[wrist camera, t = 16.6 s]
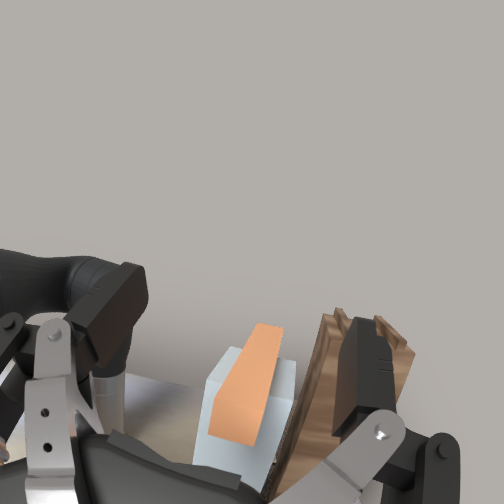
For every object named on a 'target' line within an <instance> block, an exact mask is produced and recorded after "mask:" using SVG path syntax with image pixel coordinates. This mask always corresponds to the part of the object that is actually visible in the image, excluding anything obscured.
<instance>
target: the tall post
mask: <svg viewBox="0 0 504 504" xmlns="http://www.w3.org/2000/svg"><path fill="white" fill-rule="evenodd" d="M352 320H353V319H348V318H347V316H346V314H345V313H344V311H343V309H340V308H335V311H334V315H328V314H323V317H322V321H321V324H320V328H319V332H318V336H317V339H316V343H315V347H314V350H313V354H312V357H311V360H310V364H309V367H308V371H307V374H306V377H305V381H304V384H303V387H302V390H301V393H300V397H299V400H298V403H297V406H296V409H295V412H294V415H293V418H292V421H291V424H290V427H289V429H288V432H287V435H286V438H285V441H284V444H283V446H282V449H281V452H280V454H279V457H278V460H277V462H276V465H275V468H274V470H273V473H272V477H271V482H270V488H269V493H268V498H267V501H268V503H270V502H272V501H273V500H274V499H276V498H277V497H278V496H280V495H281V494H283V493H284V492H285V491H286V490H288V489H289V488H290V487H292V486H293V485H294V484H295V483H297V482H298V481H299V480H300V479H302V478H303V477H304V476H305V475H307V474H308V473H309V472H310V471H311V470H312V469H314V468H315V467H316V466H317V465H318V464H319V463H321V462H322V461H323V460H324V459H325V458H326V457H328V456H329V455H330V454H331V453H332V452H333V451H334V450H335V449H336V448H337V447H338V446H339V445H340V437H333V436H331V434H332V426H333V416H334V406H335V395H336V383H337V368H338V356H339V351H340V348H341V345H342V342H343V340H344V338H345V336H346V334H347V332H348V329H349V327H350V325H351V323H352ZM373 320H375V322H376V329H377V335H378V336H384V337H386V339H387V341H388V343H389V345H390V347H391V348H392V358H393V362H392V363H393V368H394V371H393V373H394V381H395V396H396V403H397V401H398V398H399V396H400V394H401V391H402V389H403V386H404V384H405V381H406V378H407V376H408V373H409V370H410V368H411V365H412V362H413V359H414V356H415V353H414V352H413V351H412V350H411V349H410V348H409V347H408V346H407V345H406V344H407V341H406V340H405V339H404V338H403V337H402V336H401V335H400V334H398V332H397V331H396V330H394V328H392V326H390V325H389V324H388V323H387V322H386V321H385V320H384V319H383V318H382V317H381V316H376V315H375V316H374V319H373Z"/></svg>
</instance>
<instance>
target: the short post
mask: <svg viewBox="0 0 504 504" xmlns="http://www.w3.org/2000/svg"><path fill="white" fill-rule="evenodd" d="M242 350H243V349H240V348H236V347H232V346H230V347H229V349H228V350H227V352H226V353H225V355H224V356H223V357H222V359H221V360H220V361H219V363H218V364H217V366H216V367H215V369H214V370H213V371H212V372H211V374H210V375H209V377H208V378H207V380H206V386H205V392H204V398H203V403H202V409H201V415H200V421H199V427H198V433H197V439H196V445H195V451H194V457H193V464H192V465H202V466H209V467H213V468H216V469H220V470H223V471H227V472H231V473H235V474H239V475H242V477H241V480H240V481H242V482H244V483H246V484H248V485H249V486H251V487H252V488H254V489H255V490H257V491H258V492H259V493H261V490H262V488H263V485H264V483H265V480H266V478H267V475H268V472H269V470H270V467H271V464H272V462H273V459H274V456H275V454H276V451H277V448H278V445H279V442H280V440H281V437H282V434H283V431H284V428H285V425H286V422H287V419H288V416H289V413H290V410H291V407H292V404H293V400H294V387H295V372H296V361H291V360H286V359H282V358H278V357H277V361H276V365H275V369H274V374H273V378H272V382H271V386H270V390H269V394H268V398H267V402H266V406H265V410H264V414H263V417H262V421H261V424H260V428H259V431H258V434H257V438H256V441H255V444H254V447H252V446H248V445H244V444H240V443H236V442H232V441H229V440H225V439H222V438H218V437H215V436H211V435H208V429H209V423H210V418H211V413H212V408H213V402H214V397H215V396H216V394H217V392H218V391H219V389H220V387H221V386H222V384H223V382H224V381H225V379H226V377H227V376H228V374H229V372H230V370H231V369H232V367H233V365H234V364H235V362H236V360H237V358H238V357H239V355H240V353H241V351H242Z"/></svg>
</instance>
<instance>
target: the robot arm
mask: <svg viewBox="0 0 504 504" xmlns="http://www.w3.org/2000/svg"><path fill="white" fill-rule="evenodd" d="M147 304H148V289H147V284H146V276H145V270H144V267H143V266H140V265H136V264H132V263H129V262H124V263H122V264H121V265H118V264H115V263H112V262H108V261H105V260H102V259H99V258H96V257H92V256H71V257H54V258H42V257H35V256H31V255H27V254H23V253H19V252H15V251H10V250H4V249H0V374H1V373H2V371H3V370H4V368H5V367H6V366H7V364H8V363H9V361H10V360H11V359H13V360H14V362H15V363H16V364H15V365H14V367H13V368H12V370H11V371H10V373H9V374H8V375H7V377H6V378H5V380H4V381H3V383H2V384H1V386H0V504H353V503H354V502H355V501H356V500H357V499H358V498H359V497H360V495H361V494H362V490H363V488H364V487H365V486H366V485H367V483H368V482H369V481H370V480H371V479H373V480H376V481H379V482H381V483H383V490H382V498H381V504H459V501H460V448H459V445H458V442H457V441H456V440H455V438H454V437H453V436H451V435H450V434H447V433H437V434H435V435H433V436H432V437H430V438H428V437H425V436H423V435H420V434H418V433H415V432H413V431H411V430H409V429H407V428H406V427H405V425H404V422H403V420H402V419H401V418H400V417H399V416H398V415H397V412H396V396H395V381H394V373H393V371H394V368H393V363H392V362H393V358H392V348H391V347H390V345H389V343H388V341H387V339H386V337H384V336H378V335H377V329H376V322H375V320H371V319H366V318H361V317H354V319H353V320H352V323H351V325H350V327H349V329H348V332H347V334H346V336H345V338H344V340H343V342H342V345H341V348H340V351H339V356H338V368H337V383H336V395H335V406H334V416H333V426H332V434H331V436H333V437H340V445H339V446H338V447H337V448H336V449H335V450H334V451H333V452H332V453H331V454H330V455H329V456H328V457H326V458H325V459H324V460H323V461H322V462H321V463H319V464H318V465H317V466H316V467H315V468H314V469H312V470H311V471H310V472H309V473H308V474H307V475H305V476H304V477H303V478H302V479H300V480H299V481H298V482H297V483H295V484H294V485H293V486H292V487H290V488H289V489H288V490H286V491H285V492H284V493H283V494H281V495H280V496H278V497H277V498H276V499H274V500H273V501H272V502H270V503H268V501H267V500H266V499H265V498H264V497H263V496H262V495H261V494H260V493H259V492H258V491H257V490H255V489H254V488H252V487H251V486H249V485H248V484H246V483H244V482H242V481H240V480H241V477H242V475H239V474H235V473H231V472H227V471H223V470H220V469H216V468H213V467H209V466H202V465H190V464H181V463H173V462H170V461H168V460H166V459H165V458H163V457H162V456H160V455H159V454H157V453H156V452H155V451H153V450H152V449H150V448H149V447H148V446H146V445H145V444H144V443H142V442H141V441H138V440H136V439H134V438H131V437H129V436H127V435H125V434H124V394H125V368H126V359H127V355H128V353H129V349H130V345H131V339H132V330H133V326H134V325H135V323H136V322H137V321H138V319H139V318H140V316H141V315H142V313H143V312H144V311H145V309H146V307H147ZM46 312H47V313H48V312H63V313H67V315H66V316H65V317H64V318H63V319H59V318H56V319H51V320H48V321H46V322H45V323H43V324H42V325H41V326H37V325H30V324H26V323H25V322H26V321H27V320H28V319H29V318H30V317H31V316H33V315H35V314H39V313H46ZM24 410H25V442H26V455H27V457H26V458H23V459H20V460H17V461H14V462H10V463H7V464H4V462H7V461H8V460H9V452H8V451H7V450H6V442H7V441H8V439H9V437H10V435H11V433H12V431H13V430H14V428H15V426H16V424H17V423H18V421H19V419H20V417H21V416H22V414H23V412H24Z"/></svg>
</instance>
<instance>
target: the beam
mask: <svg viewBox="0 0 504 504" xmlns="http://www.w3.org/2000/svg"><path fill="white" fill-rule="evenodd" d="M283 330H284V329H283V328H280V327H275V326H271V325H267V324H262V323H257V325H256V327H255V329H254V330H253V332H252V334H251V336H250V338H249V340H248V341H247V343H246V344H245V346H244V348H243V350H242V351H241V353H240V355H239V357H238V358H237V360H236V362H235V364H234V365H233V367H232V369H231V370H230V372H229V374H228V376H227V377H226V379H225V381H224V382H223V384H222V386H221V387H220V389H219V391H218V392H217V394H216V396H215V397H214V402H213V408H212V413H211V418H210V423H209V429H208V435H211V436H215V437H218V438H222V439H225V440H229V441H232V442H236V443H240V444H244V445H248V446H252V447H254V444H255V441H256V438H257V434H258V431H259V428H260V424H261V421H262V417H263V414H264V410H265V406H266V402H267V398H268V394H269V390H270V386H271V382H272V378H273V374H274V369H275V365H276V361H277V356H278V352H279V348H280V343H281V339H282V334H283Z"/></svg>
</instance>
